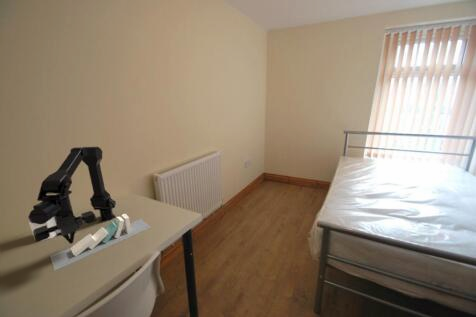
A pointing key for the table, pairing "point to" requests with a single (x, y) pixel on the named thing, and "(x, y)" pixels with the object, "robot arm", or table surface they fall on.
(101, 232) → the domino
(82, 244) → the domino
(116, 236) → the domino
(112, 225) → the domino
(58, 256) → the runner mat
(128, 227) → the domino
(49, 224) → the jar
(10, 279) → the table surface
